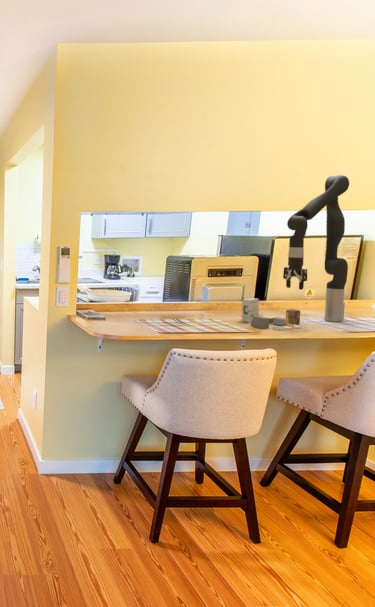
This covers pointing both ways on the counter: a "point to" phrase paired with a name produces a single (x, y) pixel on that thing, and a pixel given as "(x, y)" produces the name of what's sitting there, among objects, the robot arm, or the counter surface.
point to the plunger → (282, 320)
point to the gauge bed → (264, 324)
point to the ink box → (249, 309)
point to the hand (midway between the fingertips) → (294, 288)
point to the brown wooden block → (293, 316)
